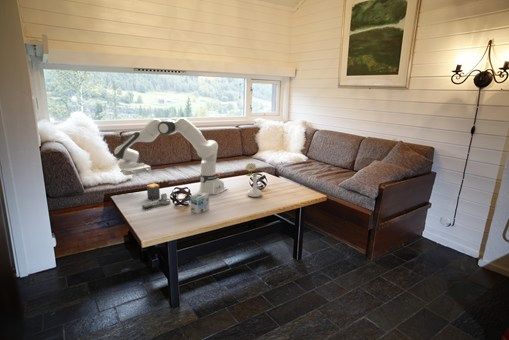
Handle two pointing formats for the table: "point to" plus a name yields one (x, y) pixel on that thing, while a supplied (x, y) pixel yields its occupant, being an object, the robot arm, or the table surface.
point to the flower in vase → (254, 191)
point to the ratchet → (160, 202)
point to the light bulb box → (199, 202)
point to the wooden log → (153, 191)
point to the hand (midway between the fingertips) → (142, 172)
